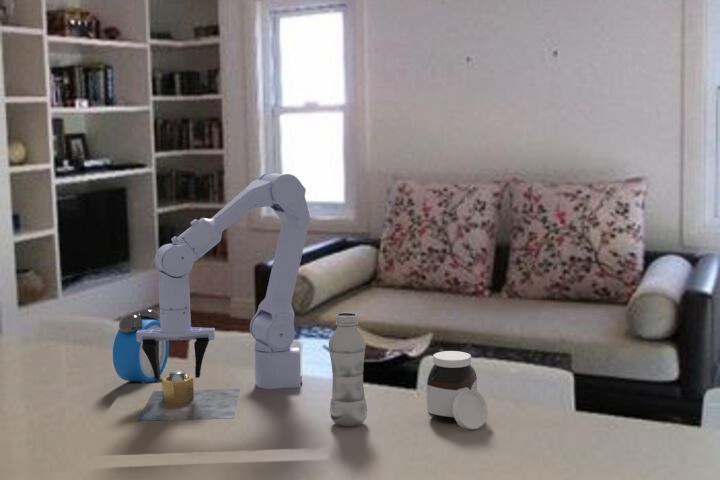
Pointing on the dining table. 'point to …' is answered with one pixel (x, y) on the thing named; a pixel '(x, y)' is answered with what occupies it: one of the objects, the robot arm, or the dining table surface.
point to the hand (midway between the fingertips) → (177, 377)
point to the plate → (191, 404)
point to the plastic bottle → (347, 372)
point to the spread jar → (455, 391)
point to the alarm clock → (137, 347)
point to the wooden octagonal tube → (177, 389)
